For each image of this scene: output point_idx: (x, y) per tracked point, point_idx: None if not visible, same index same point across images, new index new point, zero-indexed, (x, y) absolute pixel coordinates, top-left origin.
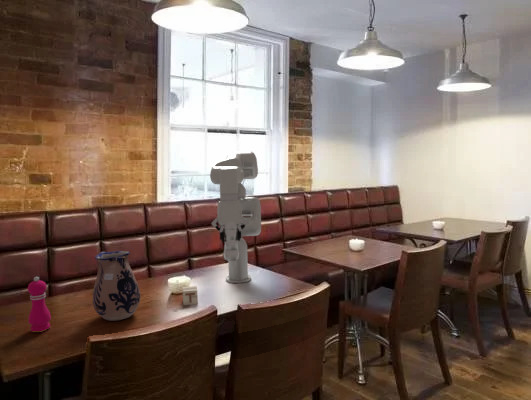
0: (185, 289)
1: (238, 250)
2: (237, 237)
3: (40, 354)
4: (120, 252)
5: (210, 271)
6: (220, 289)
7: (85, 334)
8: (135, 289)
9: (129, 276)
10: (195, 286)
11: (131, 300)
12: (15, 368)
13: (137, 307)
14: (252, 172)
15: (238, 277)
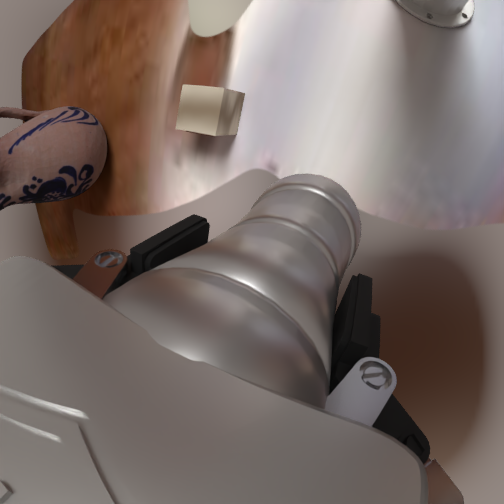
0: (185, 112)
1: (348, 265)
2: (340, 310)
3: (55, 234)
4: None
5: None
6: (342, 38)
7: (71, 201)
8: (66, 182)
9: (35, 192)
10: (219, 93)
11: (78, 191)
12: (52, 252)
13: (102, 160)
14: None
15: (427, 5)
